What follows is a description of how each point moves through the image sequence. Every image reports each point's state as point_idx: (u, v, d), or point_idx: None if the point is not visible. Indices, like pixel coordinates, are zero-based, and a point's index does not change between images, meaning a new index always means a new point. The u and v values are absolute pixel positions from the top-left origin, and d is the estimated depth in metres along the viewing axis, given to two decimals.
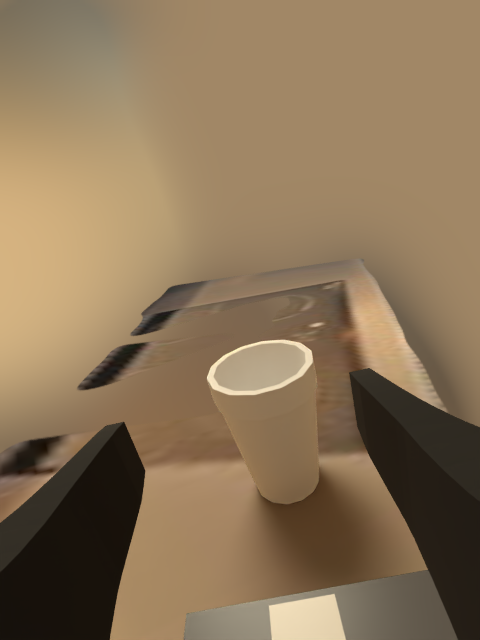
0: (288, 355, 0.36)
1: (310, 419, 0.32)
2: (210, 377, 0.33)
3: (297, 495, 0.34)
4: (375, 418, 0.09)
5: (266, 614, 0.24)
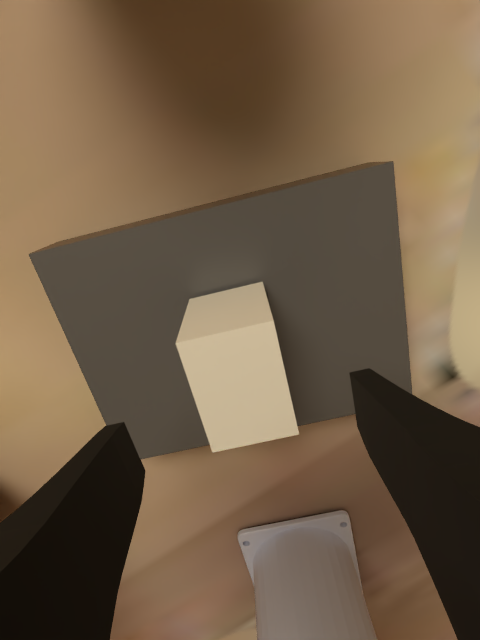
0: None
1: None
2: None
3: None
4: (375, 418, 0.09)
5: (151, 245, 0.16)
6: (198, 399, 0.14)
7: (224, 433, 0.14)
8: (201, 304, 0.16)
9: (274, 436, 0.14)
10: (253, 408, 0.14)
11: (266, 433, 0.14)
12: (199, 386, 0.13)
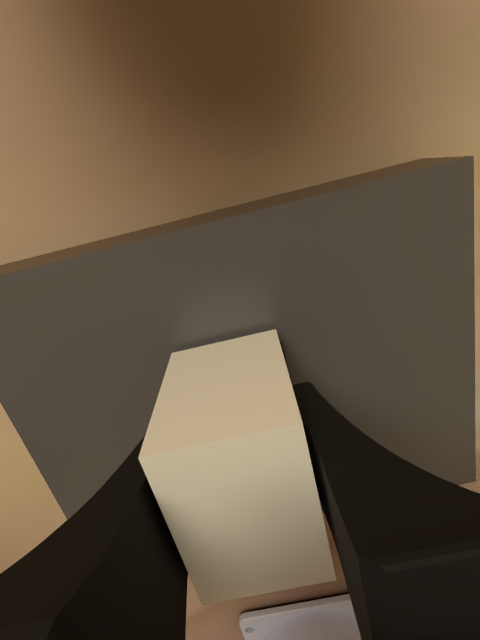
0: None
1: None
2: None
3: None
4: None
5: (115, 277, 0.11)
6: (178, 536, 0.09)
7: (220, 580, 0.09)
8: (187, 366, 0.11)
9: (298, 583, 0.09)
10: (266, 547, 0.09)
11: (286, 579, 0.09)
12: (180, 519, 0.08)
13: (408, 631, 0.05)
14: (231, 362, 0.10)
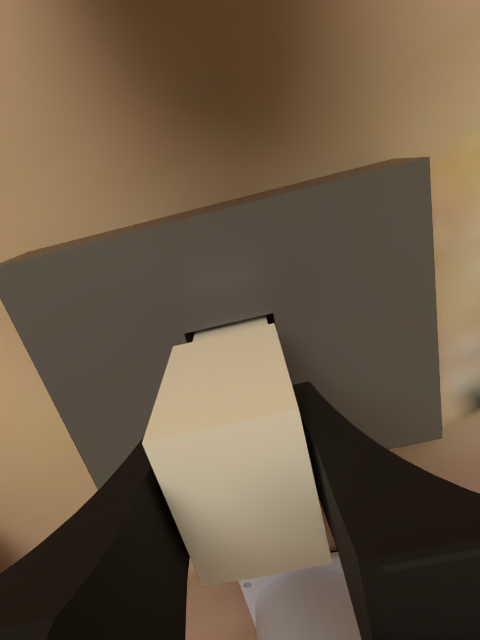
0: None
1: None
2: None
3: None
4: (304, 433, 0.10)
5: (134, 258, 0.14)
6: (180, 520, 0.09)
7: (220, 563, 0.09)
8: (188, 359, 0.11)
9: (295, 566, 0.10)
10: (264, 531, 0.09)
11: (283, 562, 0.10)
12: (181, 503, 0.09)
13: (408, 631, 0.05)
14: (231, 354, 0.11)
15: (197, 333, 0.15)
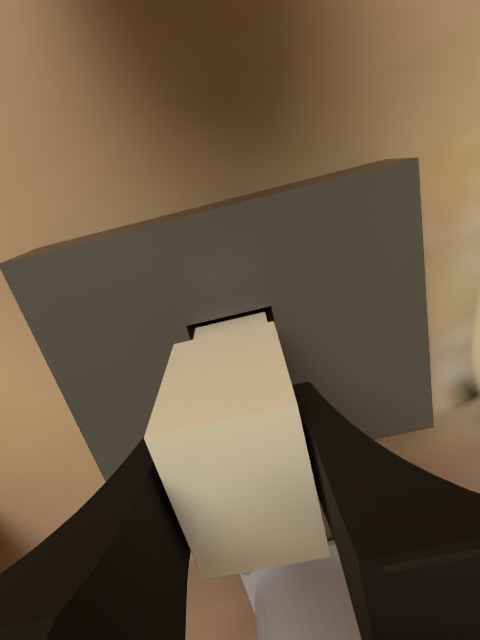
0: None
1: None
2: None
3: None
4: (304, 433, 0.10)
5: (139, 253, 0.14)
6: (181, 513, 0.09)
7: (220, 556, 0.10)
8: (189, 356, 0.11)
9: (294, 560, 0.10)
10: (264, 524, 0.09)
11: (282, 556, 0.10)
12: (182, 496, 0.09)
13: (408, 631, 0.05)
14: (231, 352, 0.11)
15: (198, 331, 0.15)
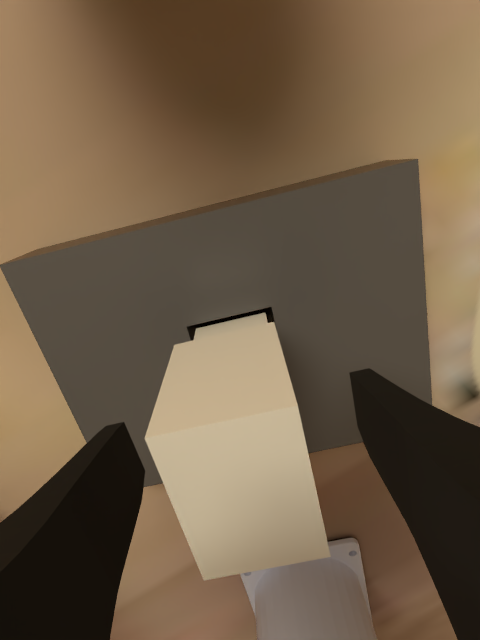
0: None
1: None
2: None
3: None
4: (375, 418, 0.09)
5: (139, 254, 0.14)
6: (182, 513, 0.09)
7: (221, 556, 0.10)
8: (189, 357, 0.11)
9: (294, 560, 0.10)
10: (264, 524, 0.09)
11: (282, 556, 0.10)
12: (183, 497, 0.09)
13: None
14: (231, 352, 0.11)
15: (198, 331, 0.16)
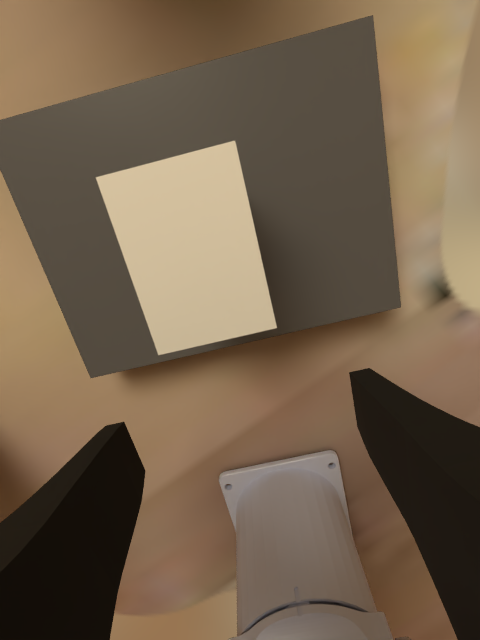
0: None
1: None
2: None
3: None
4: (375, 418, 0.09)
5: (113, 115, 0.15)
6: (134, 270, 0.10)
7: (173, 325, 0.10)
8: None
9: (242, 331, 0.10)
10: (212, 286, 0.10)
11: (231, 325, 0.10)
12: (134, 250, 0.10)
13: None
14: None
15: None
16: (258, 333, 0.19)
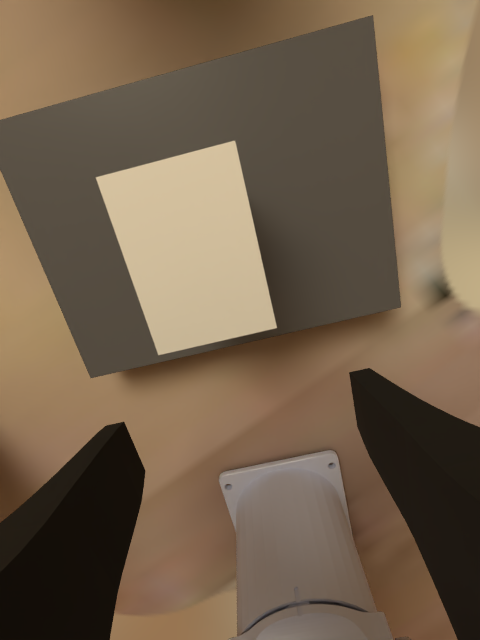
0: None
1: None
2: None
3: None
4: (375, 418, 0.09)
5: (113, 115, 0.15)
6: (134, 270, 0.10)
7: (173, 325, 0.10)
8: None
9: (242, 331, 0.10)
10: (212, 286, 0.10)
11: (231, 325, 0.10)
12: (134, 250, 0.10)
13: None
14: None
15: None
16: (258, 333, 0.19)
